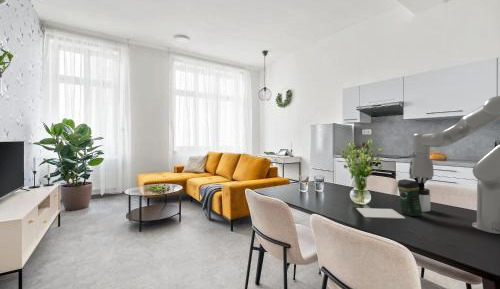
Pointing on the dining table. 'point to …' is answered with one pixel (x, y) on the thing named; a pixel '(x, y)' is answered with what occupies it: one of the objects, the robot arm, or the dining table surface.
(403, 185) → the coffee jar
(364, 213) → the mat
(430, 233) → the dining table surface
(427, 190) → the jar
